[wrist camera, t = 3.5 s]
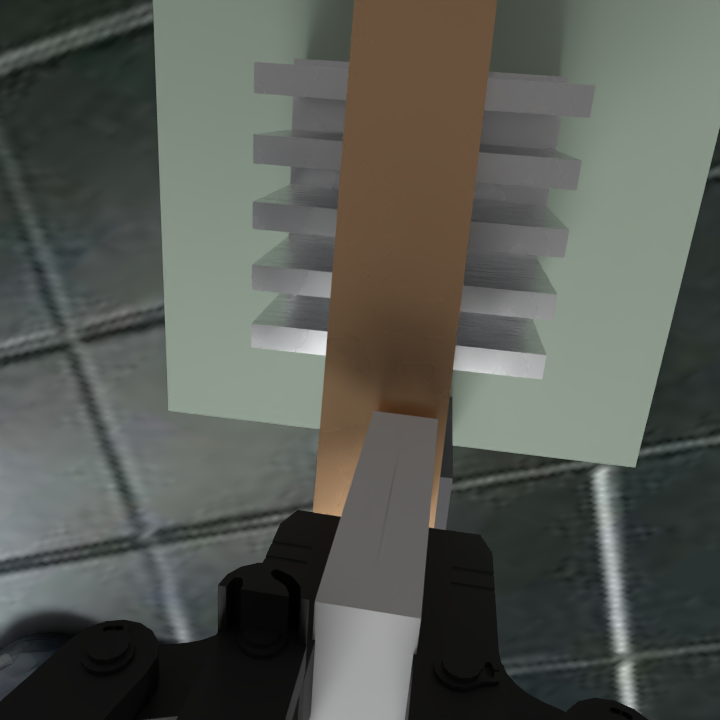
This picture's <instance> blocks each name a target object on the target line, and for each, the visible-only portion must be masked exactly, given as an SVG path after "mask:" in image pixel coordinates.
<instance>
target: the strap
mask: <svg viewBox="0 0 720 720" xmlns="http://www.w3.org/2000/svg"><path fill="white" fill-rule="evenodd" d="M496 7H497V0H354V9H353V22H352V34H351V46H350V59H349V71H348V84H347V96H346V109H345V121H344V133H343V146H342V158H341V171H340V183H339V196H338V208H337V220H336V233H335V245H334V258H333V270H332V283H331V295H330V307H329V320H328V332H327V345H326V357H325V370H324V382H323V395H322V407H321V419H320V432H319V444H318V457H317V469H316V482H315V494H314V506H313V512H314V513H320V514H327V515H334V516H341V515H342V512H343V508H344V505H345V502H346V499H347V495H348V492H349V489H350V486H351V482H352V479H353V476H354V473H355V470H356V466H357V463H358V460H359V457H360V453H361V450H362V447H363V444H364V440H365V437H366V434H367V431H368V427H369V424H370V421H371V418H372V414H373V411H378V412H386V413H394V414H402V415H410V416H417V417H425V418H433V419H438V426H437V438H436V450H435V461H434V473H433V485H432V496H431V508H430V520H429V528H434V523H435V515H436V507H437V498H438V490H439V482H440V473H441V465H442V457H443V448H444V440H445V432H446V423H447V415H448V407H449V398H450V390H451V382H452V373H453V365H454V357H455V349H456V340H457V332H458V324H459V315H460V307H461V299H462V290H463V282H464V274H465V265H466V257H467V249H468V240H469V232H470V224H471V215H472V207H473V199H474V190H475V182H476V174H477V165H478V157H479V149H480V140H481V132H482V124H483V115H484V107H485V99H486V90H487V82H488V74H489V65H490V57H491V49H492V40H493V32H494V24H495V15H496Z"/></svg>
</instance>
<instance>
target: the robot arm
mask: <svg viewBox="0 0 720 720" xmlns="http://www.w3.org/2000/svg"><path fill="white" fill-rule="evenodd" d="M437 426H438V419H433V418H425V417H417V416H410V415H402V414H394V413H386V412H378V411H373V414H372V418H371V421H370V424H369V427H368V431H367V434H366V437H365V440H364V444H363V447H362V450H361V453H360V457H359V460H358V463H357V466H356V470H355V473H354V476H353V479H352V482H351V486H350V489H349V492H348V495H347V499H346V502H345V505H344V508H343V512H342V515H341V516H334V515H327V514H320V513H314V512H307V511H300V510H297V511H296V512H295V513H293V514H292V515H291V516H290V517H288V518H287V519H286V520H285V521H283V522H282V523H281V524H280V526H279V528H278V530H277V533H276V535H275V537H274V539H273V543H272V544H271V546H270V548H269V550H268V552H267V555H266V559H264V561H263V563H256V564H251V565H247V566H242V567H240V568H238V569H236V570H234V571H233V572H231V573H229V574H227V575H226V576H225V578H224V579H223V580H222V581H221V582H220V583H219V585H218V633H217V634H216V635H215V636H212V637H209V638H206V639H204V640H200V641H195V642H189V643H180V644H169V645H158V641H157V639H156V637H155V635H154V633H153V631H152V630H150V629H149V628H147V627H146V626H144V625H143V624H141V623H137V622H132V621H128V620H116V621H105V622H102V623H100V624H97V625H94V626H91V627H88V628H86V629H85V630H83V631H82V632H80V633H79V634H77V635H76V636H74V637H73V638H71V639H70V640H69V641H68V642H67V643H65V644H64V645H63V646H62V647H61V648H60V649H59V650H58V651H56V652H55V653H54V654H53V655H52V656H51V657H50V658H49V659H47V660H46V661H45V662H44V663H43V664H42V665H41V666H39V667H38V668H37V669H36V670H35V671H34V672H33V673H32V674H30V675H29V676H28V677H27V678H26V679H25V680H24V681H23V682H21V683H20V684H19V685H18V686H17V687H16V688H15V689H14V690H12V691H11V692H10V693H9V694H8V695H7V696H6V697H4V698H3V699H2V700H1V701H0V720H648V719H646V718H645V717H644V716H642V715H641V714H640V713H638V712H637V711H636V710H634V709H632V708H630V707H628V706H625V705H623V704H621V703H618V702H616V701H613V700H606V699H599V698H592V699H587V700H582V701H578V702H577V703H576V704H574V705H573V706H572V707H571V708H570V709H568V710H567V712H564V711H562V710H560V709H558V708H555V707H553V706H551V705H549V704H546V703H544V702H542V701H540V700H538V699H536V698H535V697H533V696H531V695H529V694H528V693H526V692H525V691H524V690H523V689H521V688H520V687H519V686H518V685H516V684H515V683H514V681H513V680H512V679H511V678H510V677H509V676H508V674H507V673H506V671H505V669H504V666H503V664H502V663H501V660H500V656H499V649H498V634H497V618H496V603H495V593H494V589H495V588H494V576H493V573H494V572H493V557H492V552H491V551H490V549H489V548H488V546H487V545H486V543H485V542H484V540H483V539H482V537H481V536H480V535H477V534H470V533H463V532H456V531H449V530H442V529H436V528H429V520H430V508H431V496H432V485H433V473H434V461H435V450H436V438H437Z"/></svg>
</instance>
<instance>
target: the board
mask: <svg viewBox="0 0 720 720" xmlns="http://www.w3.org/2000/svg"><path fill="white" fill-rule="evenodd" d="M353 9H354V0H153V15H154V41H155V68H156V94H157V120H158V146H159V173H160V199H161V225H162V251H163V278H164V304H165V330H166V356H167V383H168V409H169V411H174V412H183V413H191V414H199V415H207V416H216V417H224V418H232V419H240V420H249V421H257V422H265V423H273V424H281V425H290V426H298V427H306V428H314V429H320V419H321V407H322V395H323V382H324V370H325V357H326V356H325V355H316V354H307V353H298V352H289V351H280V350H271V349H262V348H252V347H251V323H252V322H253V321H254V320H255V319H256V318H257V317H258V316H259V315H260V314H261V313H262V312H263V311H264V309H265V308H266V307H267V306H268V305H269V304H270V303H271V302H272V301H273V300H274V299H275V298H276V297H277V296H278V294H279V293H275V292H266V291H256V290H252V264H254V263H255V262H256V261H257V260H259V259H260V258H261V257H262V256H264V255H265V254H266V253H268V252H269V251H270V250H271V249H273V248H274V247H275V246H277V245H278V244H279V243H280V242H282V241H283V240H284V239H286V238H287V237H288V236H289V232H280V231H269V230H258V229H252V221H253V201H255V200H257V199H260V198H262V197H264V196H266V195H268V194H270V193H272V192H275V191H277V190H279V189H281V188H283V187H285V186H287V185H289V184H290V176H291V167H289V166H277V165H265V164H253V134H260V133H267V132H275V131H282V130H290V129H292V110H293V96H283V95H270V94H257V93H254V62H263V63H278V64H292V65H294V58H296V59H311V60H325V61H340V62H349V59H350V46H351V34H352V22H353ZM489 72H501V73H516V74H531V75H545V76H560V77H568V81H567V84H582V85H596V86H595V92H594V97H593V103H592V108H591V114H590V118H583V117H568V116H561V122H560V128H559V134H558V140H557V146H556V150H557V151H560V152H562V153H565V154H567V155H570V156H572V157H575V158H577V159H580V160H582V163H581V169H580V174H579V180H578V185H577V191H575V190H563V189H551V188H549V194H548V200H547V207H548V208H549V209H550V210H551V211H552V213H553V214H554V215H555V216H556V217H557V218H558V219H559V220H560V221H561V222H562V223H563V224H564V225H565V226H566V227H567V228H568V229H569V235H568V241H567V246H566V252H565V257H564V258H558V257H547V256H538V261H539V263H540V264H541V266H542V268H543V270H544V272H545V273H546V275H547V277H548V279H549V280H550V282H551V284H552V286H553V287H554V289H555V291H556V293H557V294H558V296H557V301H556V307H555V312H554V318H553V321H549V320H539V319H533V321H534V323H535V326H536V328H537V331H538V334H539V336H540V339H541V342H542V344H543V347H544V349H545V352H546V355H547V357H546V362H545V368H544V373H543V379H542V380H541V379H532V378H523V377H514V376H505V375H496V374H487V373H478V372H469V371H460V370H453V373H452V382H451V390H450V398H449V407H448V415H447V423H446V432H445V440H444V448H443V457H442V465H441V473H440V482H439V490H438V498H437V507H436V515H435V523H434V528H436V529H442V530H446V523H447V516H448V508H449V501H450V494H451V486H452V479H453V445H454V446H462V447H471V448H479V449H487V450H495V451H504V452H512V453H520V454H528V455H536V456H545V457H553V458H561V459H569V460H578V461H586V462H594V463H602V464H611V465H619V466H627V467H635V466H636V462H637V458H638V454H639V450H640V446H641V442H642V438H643V434H644V430H645V426H646V422H647V418H648V414H649V410H650V406H651V402H652V398H653V394H654V390H655V386H656V381H657V377H658V373H659V369H660V365H661V361H662V357H663V353H664V349H665V345H666V341H667V337H668V333H669V329H670V325H671V321H672V317H673V313H674V309H675V305H676V301H677V297H678V293H679V289H680V285H681V281H682V277H683V273H684V269H685V265H686V261H687V257H688V253H689V249H690V245H691V241H692V237H693V232H694V228H695V224H696V220H697V216H698V212H699V208H700V204H701V200H702V196H703V192H704V188H705V184H706V180H707V176H708V172H709V168H710V164H711V160H712V156H713V152H714V148H715V144H716V140H717V136H718V132H719V128H720V0H497V7H496V15H495V24H494V32H493V40H492V49H491V57H490V65H489ZM316 469H317V461H316ZM315 482H316V476H315Z"/></svg>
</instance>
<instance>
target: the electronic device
mask: <svg viewBox="0 0 720 720" xmlns="http://www.w3.org/2000/svg"><path fill="white" fill-rule="evenodd" d="M71 638H73V637H72V636H70V635H64V634H54V633H46V634H38V635H31V636H28V637H24V638H21V639H18V640H17V641H14V642H12V643H10V644H9V645H7V646H6V647H5V648H3V649H2V650H0V701H1V700H2V699H3V698H4V697H6V696H7V695H8V694H9V693H10V692H11V691H12V690H14V689H15V688H16V687H17V686H18V685H19V684H20V683H21V682H23V681H24V680H25V679H26V678H27V677H28V676H29V675H30V674H32V673H33V672H34V671H35V670H36V669H37V668H38V667H39V666H41V665H42V664H43V663H44V662H45V661H46V660H47V659H49V658H50V657H51V656H52V655H53V654H54V653H55V652H56V651H58V650H59V649H60V648H61V647H62V646H63V645H64V644H65V643H67V642H68V641H69V640H70V639H71Z"/></svg>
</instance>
